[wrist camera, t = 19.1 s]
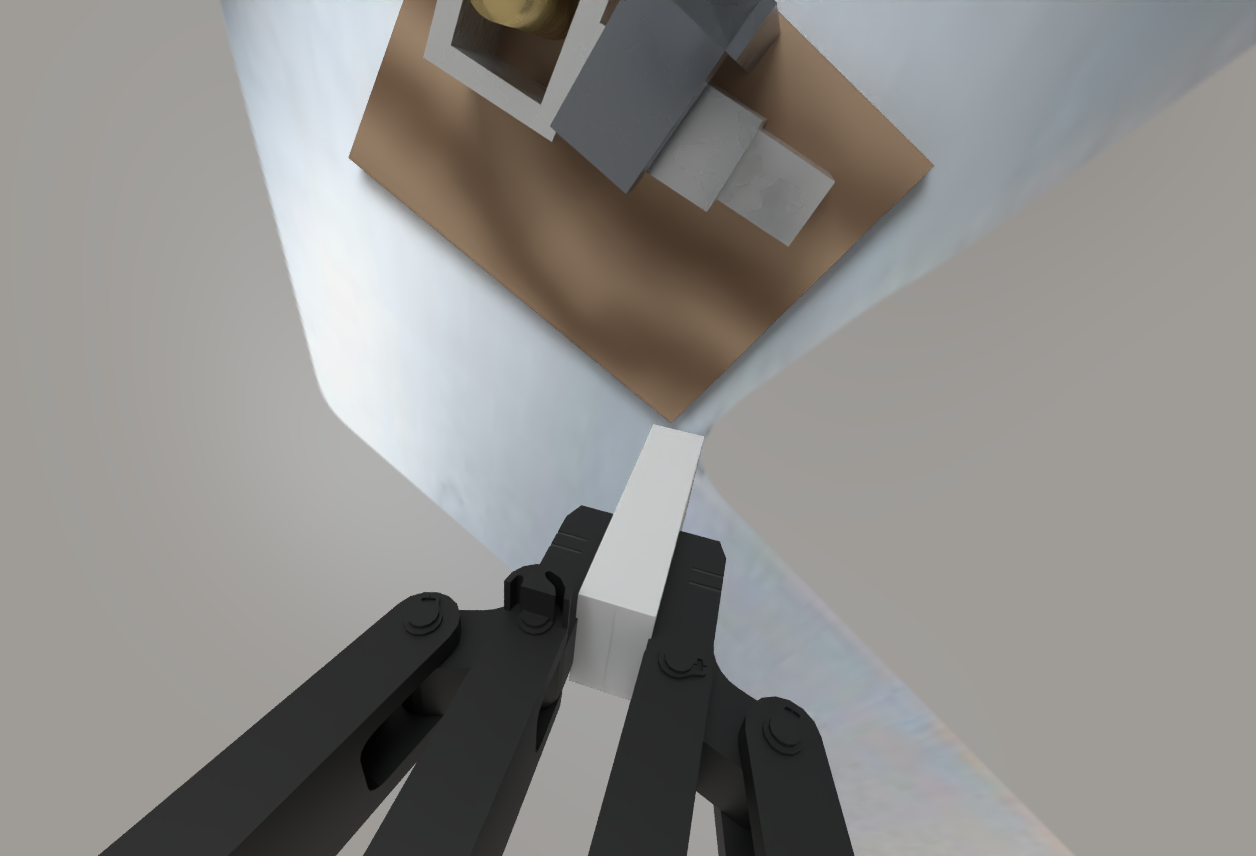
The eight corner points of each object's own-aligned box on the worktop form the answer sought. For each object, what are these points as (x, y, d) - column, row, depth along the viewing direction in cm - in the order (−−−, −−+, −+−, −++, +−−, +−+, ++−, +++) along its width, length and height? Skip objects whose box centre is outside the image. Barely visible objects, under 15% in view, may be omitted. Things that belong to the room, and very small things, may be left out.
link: (470, 64, 29) (402, 54, 24) (517, -97, 25) (448, -150, 20) (766, 260, 30) (762, 290, 25) (855, 134, 26) (871, 140, 21)
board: (509, -251, 23) (497, -267, 22) (928, 163, 27) (934, 165, 26) (361, 156, 34) (348, 157, 33) (674, 414, 37) (671, 423, 36)
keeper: (702, -42, 25) (663, -110, 17) (781, 35, 26) (777, 2, 18) (605, 116, 29) (539, 117, 22) (675, 179, 30) (635, 202, 22)
